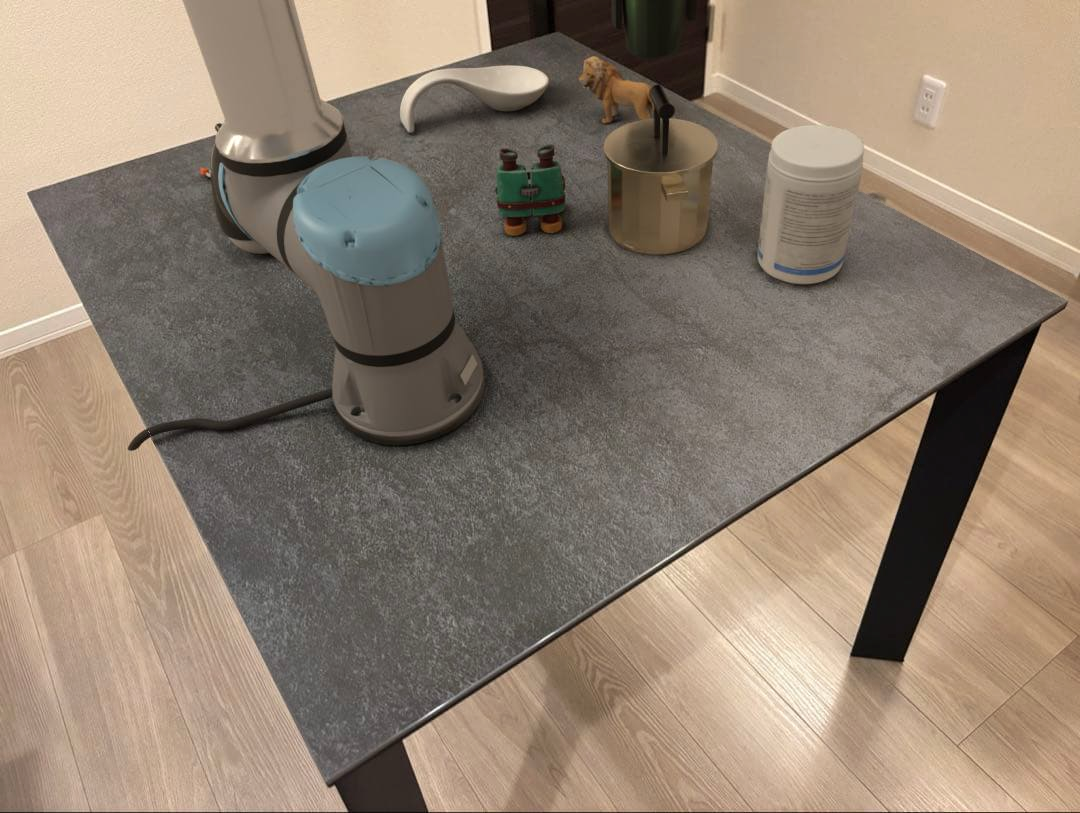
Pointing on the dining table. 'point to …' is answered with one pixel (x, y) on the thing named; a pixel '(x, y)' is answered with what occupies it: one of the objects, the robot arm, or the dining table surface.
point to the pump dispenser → (222, 213)
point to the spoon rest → (481, 87)
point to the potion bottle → (653, 27)
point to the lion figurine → (615, 89)
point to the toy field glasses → (530, 191)
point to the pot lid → (660, 143)
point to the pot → (658, 210)
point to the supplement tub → (809, 202)
